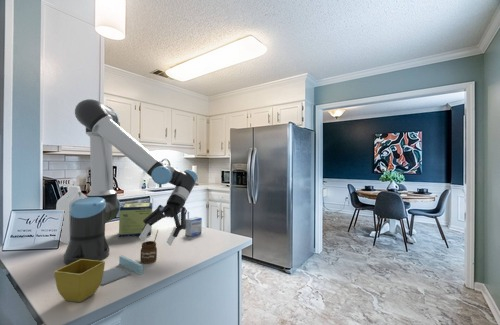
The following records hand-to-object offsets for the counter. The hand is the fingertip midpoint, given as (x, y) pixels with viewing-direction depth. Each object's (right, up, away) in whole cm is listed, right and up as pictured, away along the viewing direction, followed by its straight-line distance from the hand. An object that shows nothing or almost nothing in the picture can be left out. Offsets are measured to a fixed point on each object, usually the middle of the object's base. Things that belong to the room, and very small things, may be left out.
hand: (154, 241), depth 95 cm
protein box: (-23, -7, +33) cm, 41 cm away
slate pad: (-9, -7, -14) cm, 18 cm away
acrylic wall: (-5, -7, -8) cm, 12 cm away
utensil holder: (-2, -7, -1) cm, 8 cm away
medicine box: (+8, -7, +34) cm, 35 cm away
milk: (-49, -6, +23) cm, 55 cm away
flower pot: (-11, -7, -27) cm, 30 cm away
